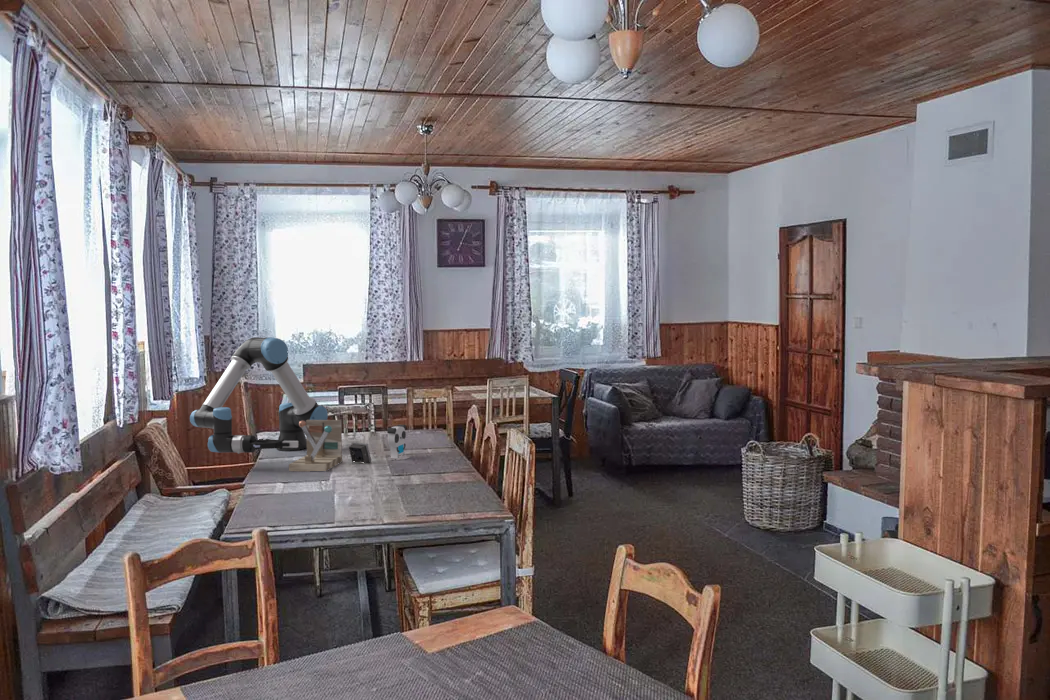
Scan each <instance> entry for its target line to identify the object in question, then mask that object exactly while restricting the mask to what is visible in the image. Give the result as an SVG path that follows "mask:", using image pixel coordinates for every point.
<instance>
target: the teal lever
mask: <svg viewBox="0 0 1050 700" xmlns="http://www.w3.org/2000/svg"><path fill="white" fill-rule="evenodd" d="M324 430H325V431H324V432H323V434H322V436H321V438H320V439H319V441H318V443H317V445H316V447H315V448H314V450H313V452H312V454H311V456H310V457H311V461H314V459H315V457H316V455H317V454H318V452H319V450H320V448H321V446H322V445H323V443H324V441H325V439H326V438H327V436H328V434H329V433H330V432H331V431H332V427H331V426H326V427H325V428H324Z"/></svg>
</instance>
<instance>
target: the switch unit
mask: <svg viewBox="0 0 1050 700" xmlns="http://www.w3.org/2000/svg"><path fill="white" fill-rule="evenodd" d="M306 425H307V427H308V429H309V431H310V432H311V434H312V436H313V437H314V439H315V441H316V443H318V441H319V439H320V438H321V436H322V434H323V432H324V431H325V430H324V428H325V427H326V426H331V427H332V431H331V432H330V433H329V434H328V436H327V438H326V439H325V441H324V443H323V445H322V446H321V448H320V449H321V451H319V452H318V454H317V455H316V457H315V459H314V461H311V457H310V456H311V454H312V452H313V450H314V449H313V447H312V445H311V443H310V442H309V440H308V438H307V436H306V435H305V437H306V439H307V448H306V455H304V456H303V457H300V458H299V459H296V460H294V461H293V462H291V463H289V464H288V471H289V472H310V471H326V470H327V471H329V470H331V469H332V468H334V467H336V466H337V465H339V464H340V462H341V463H342V462H343V441H342V440H343V439H342V437H343V435H342V431H343V430H342V419H327V420H306ZM338 463H339V464H338ZM335 465H336V466H335ZM330 468H331V469H330ZM328 469H329V470H328ZM327 471H326V472H327Z"/></svg>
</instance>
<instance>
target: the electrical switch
mask: <svg viewBox="0 0 1050 700" xmlns="http://www.w3.org/2000/svg"><path fill="white" fill-rule="evenodd" d="M348 450H349V454H350V457H351V462H352V463H355V462H360V461H361V462H364V463H365V464H367V463H368V462H370V463H371V462H372V458H371V453H370V449H369V445H368V443H367V442H358V441H353V442H351V445H349V446H348ZM353 461H355V462H353Z"/></svg>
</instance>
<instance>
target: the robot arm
mask: <svg viewBox="0 0 1050 700" xmlns="http://www.w3.org/2000/svg"><path fill="white" fill-rule="evenodd" d="M230 361H231V362H230V363H229V364H228V366H227V367H226V369H225V371H224V372H223V373H222V375H221V376H220V378H219V379H218V381H217V383H215V385H214V387H213V388H212V390H211V391H210V393H209V394H208V396H207V397H206V399H205V401H204V402H203V403H202V405H201V407H200V408H199V409H195V410H194V411H192V412H191V414H190V415H189V422H190V424H191V425H192V426H193V427H197V428H203V429H205V428H206V429H213V434H211V435H209V437H208V439H207V441H208V442H207V449H208V450H209V451H210V452H212V453H219V454H220V453H237V454H238V455H239V454H241V453H245V454H247V453H251V454H252V453H255V451H256V450H267V449H268V450H270V449H276V450H277V451H285V452H286V451H287V452H288V451H290V450H294V451H301V450H300V449H302V450H305V449H304V448H306V449H307V437H306V435H305V433H304V431H303V430H302V428H301V427H300V426H299V422H300V421H305V422H306V420H328V417H329V413H328V410H327V408H326V407H325V406H322V405H319V404H318V402H317V401H316V399H315V398H313V397H310V395H309V394H308V392H307V391H306V390H305V387H304V386H303V384H302V383H301V381H300V380H299V378H298V377H297V375H296V373H295V372H294V370H293V368H292V367H291V365H290V364H289V362H288V361H289V348H288V345H287V344H286V342H285V341H284V340H282V339H281V338H277V337H271V336H270V337H255V336H254V337H251V338H248V339H247V340H245V341H244V342H243V343H242V344H241V345H240V346H239V347H237V349H235V351H234V353H233V354H232V356H231V357H230ZM256 363H258V364H259V363H261V365H262V367H263V368H264V369H265V370H266V372H270V373H271V374H272V375H273V377H274V379H275V380H276V382H277V384H278V385H279V387H280V388H281V390H282V391H283V393H284V394H285V395H286V397H287V399H288V400H289V401H290V402H284V403H281V404H280V405H279V406H278V408H279V410H278V419H279V420H278V421H279V424H278V425H279V434H278V439H271V438H265V439H264V438H258V439H256V438H257V437H256V436H255V435H253V434H251V435H249V434H247V435H244V434H233V425H232V424H233V422H232V421H233V420H232V419H233V416H232V409H231V408H230V407H225V406H224V405H225V403H226V401H227V400H228V399H229V397H230V396H231V394H232V392H233V391H234V389H235V387H236V386H237V384H238V383H239V382H240V380H241V379H242V377H243V376H244V374H245V372H246V371H247V370H250V369H251V367H252V366H253V365H254V364H256Z"/></svg>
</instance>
